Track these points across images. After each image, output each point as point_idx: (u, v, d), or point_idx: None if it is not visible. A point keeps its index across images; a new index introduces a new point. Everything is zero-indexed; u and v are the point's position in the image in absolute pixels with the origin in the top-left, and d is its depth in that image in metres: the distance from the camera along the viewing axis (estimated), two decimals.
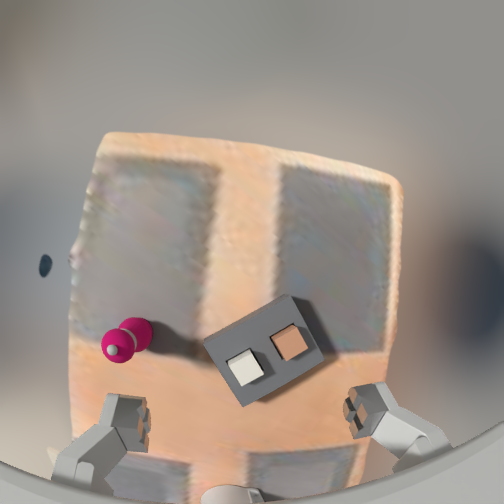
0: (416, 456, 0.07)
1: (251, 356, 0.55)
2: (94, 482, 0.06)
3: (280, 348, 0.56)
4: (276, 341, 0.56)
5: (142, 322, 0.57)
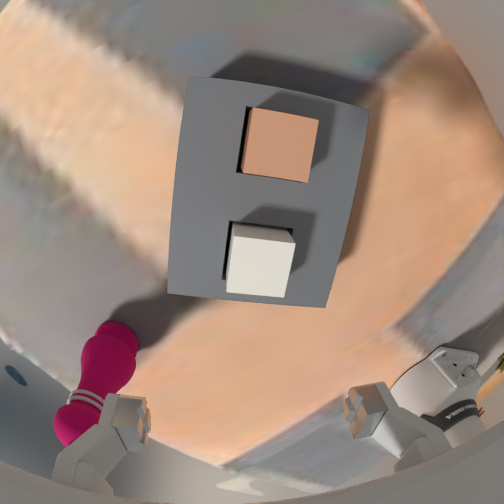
0: (416, 456, 0.07)
1: (240, 240, 0.24)
2: (94, 482, 0.06)
3: (270, 173, 0.22)
4: (249, 170, 0.22)
5: (92, 343, 0.31)
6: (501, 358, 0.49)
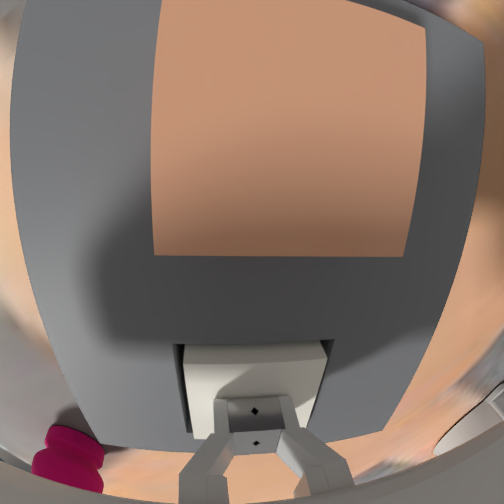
0: (305, 487, 0.07)
1: (199, 370, 0.10)
2: (227, 494, 0.06)
3: (269, 242, 0.05)
4: (176, 242, 0.05)
5: (38, 464, 0.15)
6: None
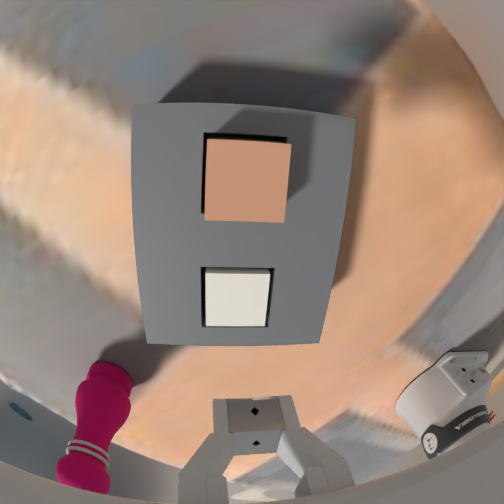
0: (306, 486, 0.07)
1: (212, 277, 0.23)
2: (227, 494, 0.06)
3: (237, 217, 0.19)
4: (211, 216, 0.19)
5: (83, 388, 0.28)
6: None
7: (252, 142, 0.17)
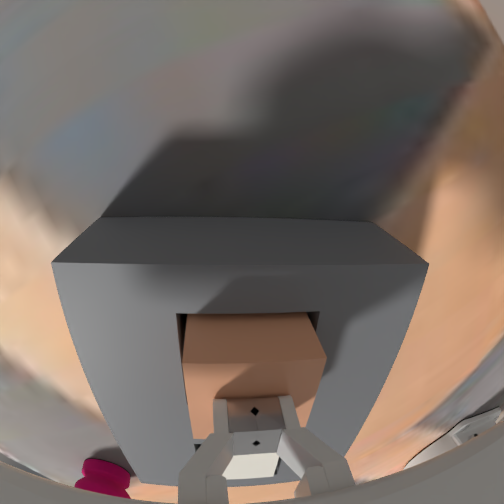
0: (306, 486, 0.07)
1: None
2: (227, 494, 0.06)
3: None
4: (202, 435, 0.11)
5: None
6: None
7: (261, 364, 0.10)
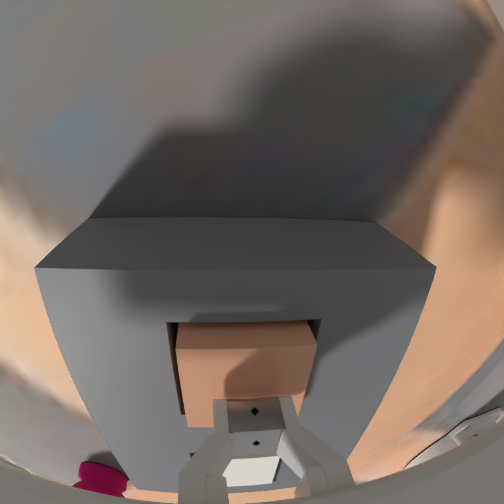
0: (306, 486, 0.07)
1: None
2: (227, 494, 0.06)
3: None
4: (196, 424, 0.12)
5: None
6: None
7: (252, 350, 0.10)
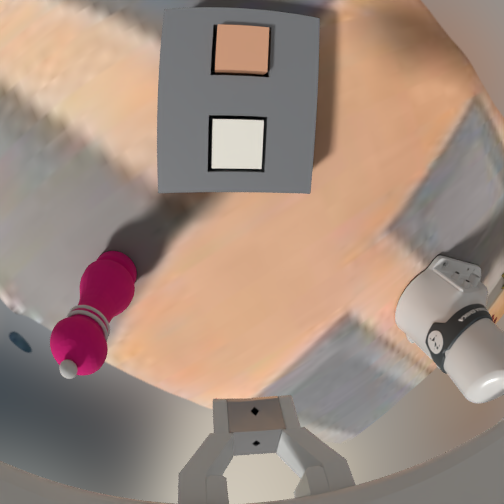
0: (306, 487, 0.07)
1: (218, 122, 0.27)
2: (227, 494, 0.06)
3: (236, 67, 0.25)
4: (219, 67, 0.24)
5: (90, 267, 0.33)
6: None
7: (245, 26, 0.23)
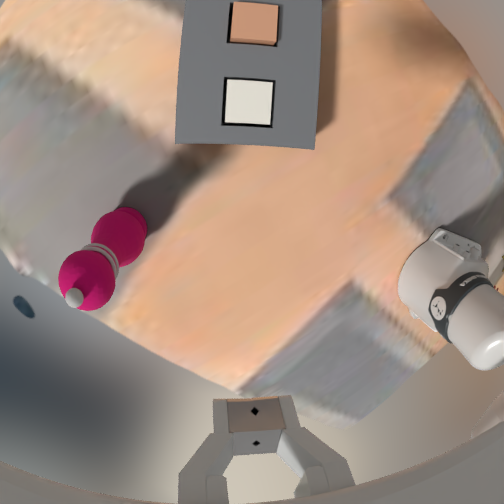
0: (306, 487, 0.07)
1: (232, 82, 0.29)
2: (227, 494, 0.06)
3: (249, 37, 0.27)
4: (234, 36, 0.26)
5: (103, 217, 0.34)
6: None
7: (257, 3, 0.25)
